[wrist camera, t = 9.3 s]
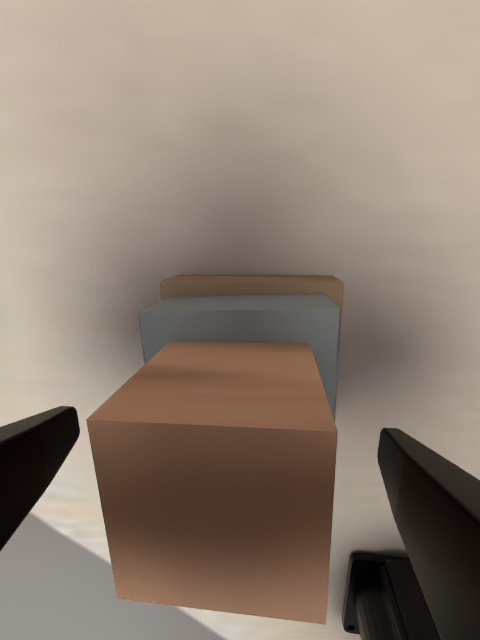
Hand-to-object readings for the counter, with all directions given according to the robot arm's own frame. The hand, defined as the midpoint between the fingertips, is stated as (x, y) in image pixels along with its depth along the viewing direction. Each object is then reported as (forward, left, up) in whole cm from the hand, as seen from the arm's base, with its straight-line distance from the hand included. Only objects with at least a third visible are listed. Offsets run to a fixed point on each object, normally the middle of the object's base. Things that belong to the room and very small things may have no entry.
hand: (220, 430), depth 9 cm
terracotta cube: (-1, 0, -2) cm, 3 cm away
